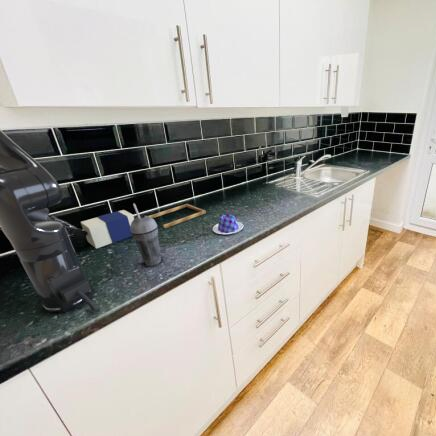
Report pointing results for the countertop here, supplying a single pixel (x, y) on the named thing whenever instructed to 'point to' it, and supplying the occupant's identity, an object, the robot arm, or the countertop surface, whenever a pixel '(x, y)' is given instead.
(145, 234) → the beverage cup
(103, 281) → the countertop surface
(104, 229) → the eraser
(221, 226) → the pudding
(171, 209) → the oak frame
